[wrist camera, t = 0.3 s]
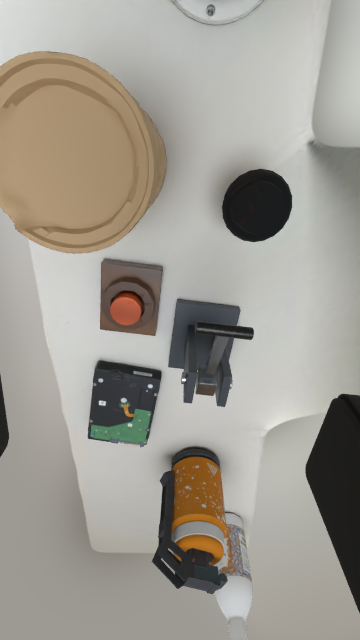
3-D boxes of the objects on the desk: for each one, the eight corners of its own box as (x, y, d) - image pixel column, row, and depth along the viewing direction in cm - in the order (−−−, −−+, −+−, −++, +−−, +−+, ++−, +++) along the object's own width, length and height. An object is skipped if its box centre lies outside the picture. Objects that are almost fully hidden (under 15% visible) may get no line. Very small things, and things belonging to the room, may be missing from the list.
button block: (104, 259, 44) (97, 266, 41) (162, 266, 44) (161, 274, 41) (102, 324, 48) (96, 335, 45) (156, 330, 49) (154, 342, 45)
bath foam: (227, 507, 67) (243, 634, 49) (248, 522, 69) (271, 650, 51) (202, 521, 69) (208, 648, 51) (224, 535, 71) (236, 662, 53)
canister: (207, 484, 64) (215, 611, 46) (154, 468, 62) (141, 594, 44) (227, 454, 60) (245, 580, 42) (171, 437, 58) (165, 560, 40)
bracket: (177, 298, 46) (174, 345, 35) (239, 306, 47) (256, 354, 35) (168, 362, 51) (163, 421, 40) (224, 369, 51) (236, 429, 40)
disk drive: (97, 358, 51) (91, 428, 57) (92, 368, 49) (86, 440, 55) (162, 369, 52) (148, 436, 58) (161, 379, 49) (147, 449, 56)
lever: (197, 313, 32) (196, 333, 30) (252, 320, 32) (254, 340, 30) (183, 375, 41) (181, 392, 39) (226, 380, 41) (226, 397, 39)
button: (113, 289, 42) (110, 295, 41) (144, 293, 43) (142, 299, 41) (112, 316, 44) (109, 323, 42) (141, 320, 44) (140, 327, 43)
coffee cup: (275, 167, 38) (302, 169, 30) (268, 227, 42) (290, 245, 33) (216, 166, 39) (226, 169, 30) (213, 226, 42) (221, 245, 33)
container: (73, 220, 42) (3, 258, 25) (50, 103, 36) (-60, 57, 20) (171, 213, 41) (162, 248, 25) (162, 94, 35) (143, 39, 19)
